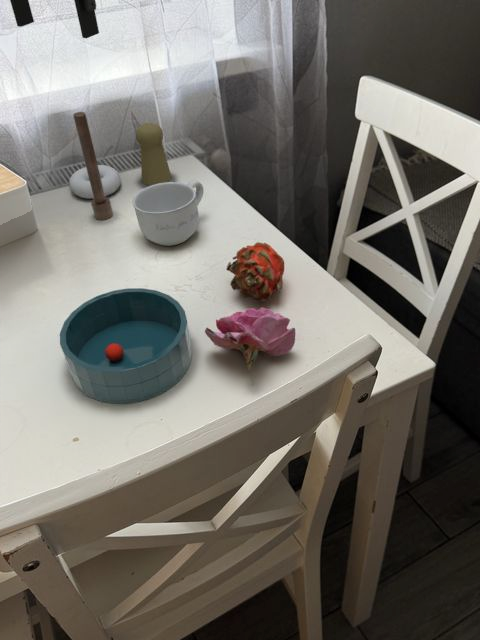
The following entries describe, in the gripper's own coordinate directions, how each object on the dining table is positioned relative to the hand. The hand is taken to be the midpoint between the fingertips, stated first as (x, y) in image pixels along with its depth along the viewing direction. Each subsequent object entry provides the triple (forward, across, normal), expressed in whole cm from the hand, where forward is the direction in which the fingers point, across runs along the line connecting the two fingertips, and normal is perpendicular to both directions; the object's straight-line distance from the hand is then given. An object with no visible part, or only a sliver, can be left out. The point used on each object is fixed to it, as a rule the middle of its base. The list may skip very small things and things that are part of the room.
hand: (57, 30), depth 89 cm
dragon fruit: (+32, -37, +5) cm, 49 cm away
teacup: (+32, -16, -2) cm, 36 cm away
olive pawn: (+32, 0, -16) cm, 36 cm away
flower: (+32, -44, +18) cm, 57 cm away
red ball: (+30, -28, +28) cm, 50 cm away
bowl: (+32, -30, +27) cm, 51 cm away
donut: (+32, +8, -7) cm, 34 cm away
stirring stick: (+32, 0, 0) cm, 32 cm away
